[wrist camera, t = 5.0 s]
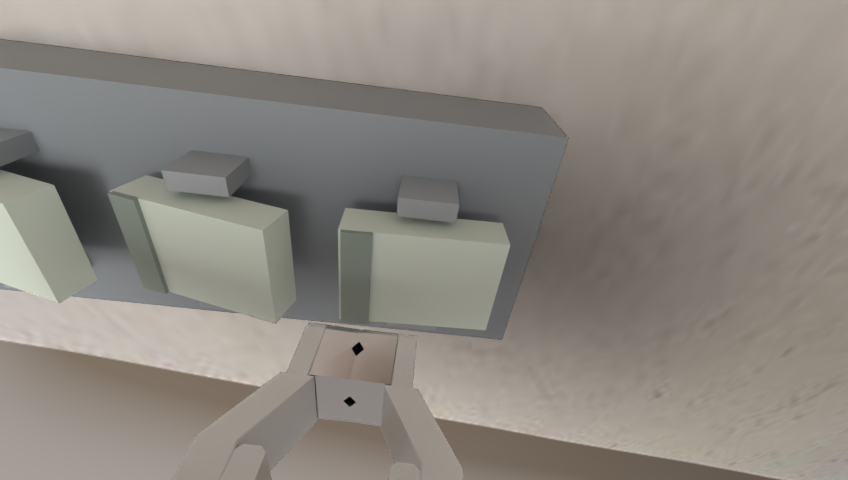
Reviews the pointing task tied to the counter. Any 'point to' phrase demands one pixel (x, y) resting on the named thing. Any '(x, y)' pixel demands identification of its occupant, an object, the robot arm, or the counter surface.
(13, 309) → the counter surface
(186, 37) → the counter surface
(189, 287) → the switch
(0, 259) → the switch
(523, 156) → the switch unit
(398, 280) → the switch
